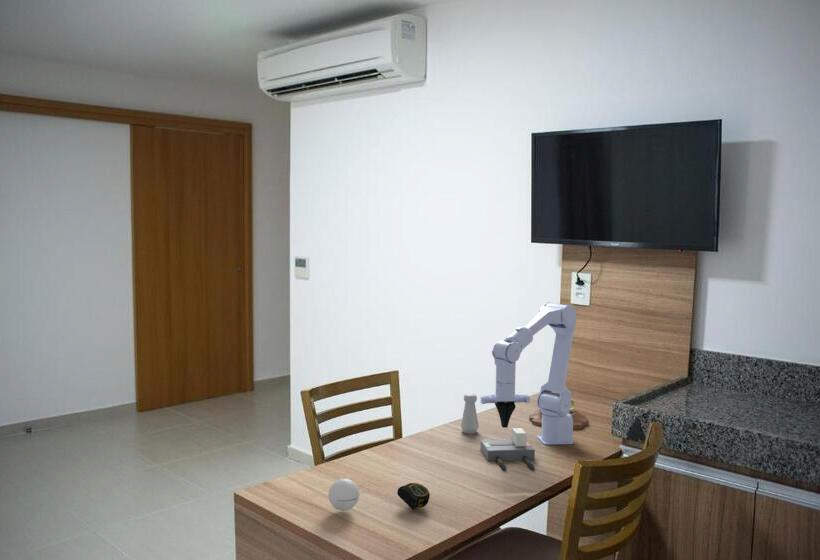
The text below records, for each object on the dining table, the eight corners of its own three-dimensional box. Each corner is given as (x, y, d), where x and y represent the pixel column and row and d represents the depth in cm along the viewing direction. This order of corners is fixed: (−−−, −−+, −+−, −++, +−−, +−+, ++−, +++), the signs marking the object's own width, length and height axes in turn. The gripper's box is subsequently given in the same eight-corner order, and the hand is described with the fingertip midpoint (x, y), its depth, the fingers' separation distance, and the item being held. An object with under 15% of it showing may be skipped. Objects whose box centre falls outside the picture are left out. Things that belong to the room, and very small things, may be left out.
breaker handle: (521, 441, 205) (521, 428, 205) (526, 446, 200) (526, 433, 200) (511, 441, 204) (512, 428, 204) (516, 446, 200) (516, 433, 199)
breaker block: (525, 448, 208) (525, 438, 208) (534, 459, 198) (534, 449, 198) (480, 449, 206) (480, 439, 206) (487, 460, 196) (487, 450, 196)
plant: (590, 419, 243) (591, 388, 243) (584, 434, 225) (585, 401, 224) (535, 412, 251) (536, 383, 250) (524, 426, 232) (525, 394, 232)
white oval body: (327, 516, 157) (328, 485, 156) (328, 503, 164) (328, 474, 163) (371, 515, 158) (371, 484, 157) (369, 502, 165) (370, 473, 164)
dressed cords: (526, 459, 198) (526, 455, 198) (535, 470, 189) (535, 465, 189) (495, 459, 197) (495, 455, 197) (502, 470, 188) (502, 466, 188)
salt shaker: (478, 430, 226) (479, 392, 225) (478, 436, 220) (479, 396, 219) (461, 430, 226) (461, 391, 225) (460, 435, 221) (461, 396, 220)
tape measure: (394, 497, 165) (397, 483, 164) (417, 493, 169) (420, 479, 168) (409, 513, 159) (413, 499, 159) (432, 508, 163) (436, 495, 162)
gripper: (524, 378, 205) (523, 422, 206) (478, 379, 203) (477, 423, 204) (532, 383, 198) (531, 428, 199) (484, 384, 196) (483, 430, 197)
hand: (504, 426), depth 201 cm, fingers closed
